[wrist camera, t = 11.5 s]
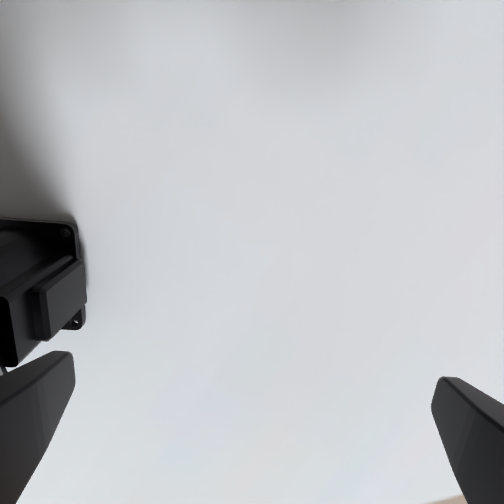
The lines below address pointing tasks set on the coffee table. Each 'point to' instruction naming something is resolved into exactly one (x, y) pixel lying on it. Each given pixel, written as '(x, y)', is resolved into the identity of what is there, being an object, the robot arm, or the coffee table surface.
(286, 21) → the coffee table surface
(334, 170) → the coffee table surface
